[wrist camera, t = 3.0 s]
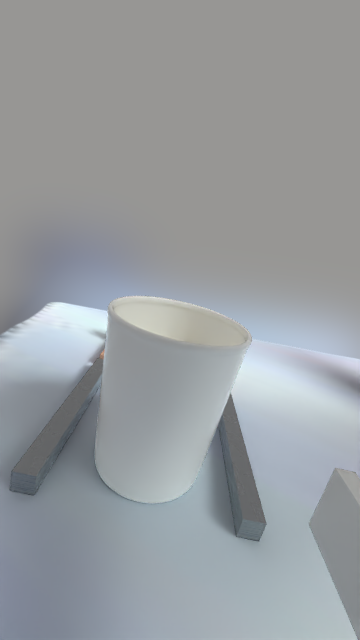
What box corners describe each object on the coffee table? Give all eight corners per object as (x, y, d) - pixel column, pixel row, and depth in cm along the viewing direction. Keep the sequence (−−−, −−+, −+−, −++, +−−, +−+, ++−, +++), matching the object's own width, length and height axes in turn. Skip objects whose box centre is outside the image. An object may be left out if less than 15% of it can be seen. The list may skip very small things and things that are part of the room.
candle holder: (68, 430, 24) (88, 290, 20) (167, 411, 29) (195, 300, 26) (110, 542, 16) (152, 350, 13) (232, 487, 22) (283, 344, 19)
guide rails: (225, 398, 35) (229, 387, 34) (259, 541, 18) (266, 524, 18) (95, 369, 34) (97, 358, 34) (10, 490, 18) (11, 471, 17)
